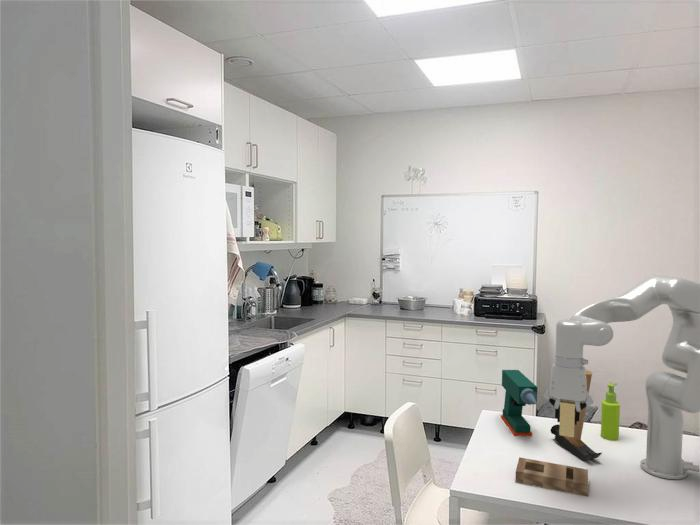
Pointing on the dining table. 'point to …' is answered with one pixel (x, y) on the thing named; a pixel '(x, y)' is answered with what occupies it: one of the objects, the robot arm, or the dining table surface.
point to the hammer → (576, 434)
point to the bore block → (552, 476)
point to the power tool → (517, 401)
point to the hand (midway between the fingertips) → (566, 421)
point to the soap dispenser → (610, 415)
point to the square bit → (567, 418)
